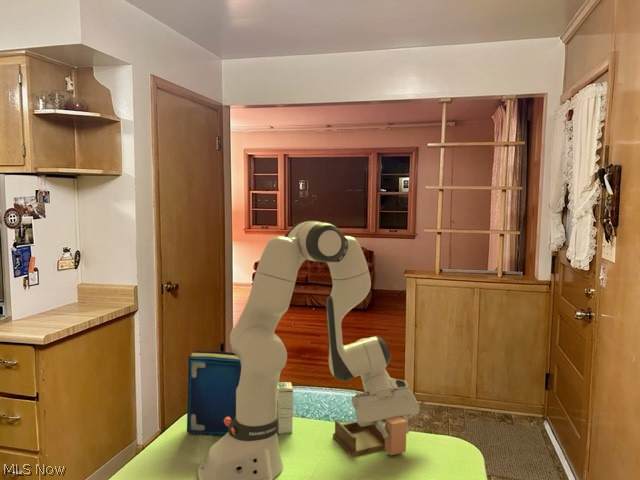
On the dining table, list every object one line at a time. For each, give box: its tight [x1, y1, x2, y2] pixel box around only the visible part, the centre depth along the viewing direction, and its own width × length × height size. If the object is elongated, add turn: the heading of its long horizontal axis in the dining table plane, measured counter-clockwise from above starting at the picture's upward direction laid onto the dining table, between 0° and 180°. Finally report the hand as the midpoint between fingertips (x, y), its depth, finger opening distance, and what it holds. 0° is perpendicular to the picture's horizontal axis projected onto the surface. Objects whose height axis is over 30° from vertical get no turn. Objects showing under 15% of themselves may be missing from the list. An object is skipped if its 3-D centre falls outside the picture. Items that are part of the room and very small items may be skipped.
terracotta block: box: [384, 416, 408, 456], centre depth 130 cm, size 5×3×9 cm
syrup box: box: [277, 381, 294, 435], centre depth 144 cm, size 6×6×14 cm
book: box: [186, 350, 241, 437], centre depth 142 cm, size 22×7×25 cm, turn 84°
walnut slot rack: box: [332, 419, 385, 457], centre depth 136 cm, size 13×12×5 cm
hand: (396, 435), depth 129 cm, fingers closed on terracotta block, 5 cm apart
